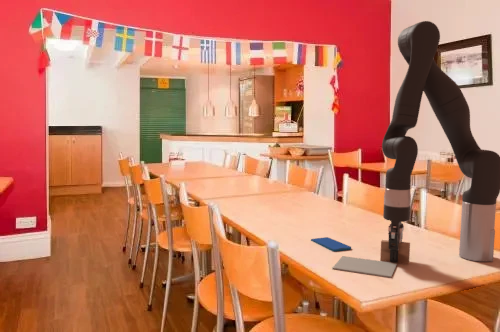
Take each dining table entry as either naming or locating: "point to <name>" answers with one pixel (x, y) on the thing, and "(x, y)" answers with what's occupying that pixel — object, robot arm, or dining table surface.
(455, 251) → the dining table surface
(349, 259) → the mat
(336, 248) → the smartphone
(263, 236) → the dining table surface
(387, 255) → the wooden toy block
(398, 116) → the robot arm
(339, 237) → the dining table surface
